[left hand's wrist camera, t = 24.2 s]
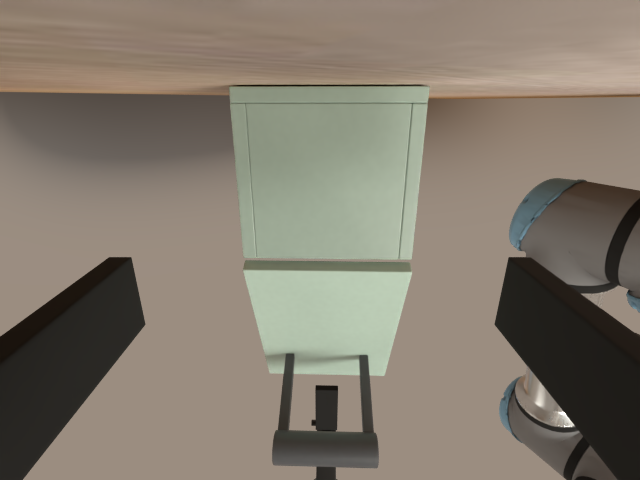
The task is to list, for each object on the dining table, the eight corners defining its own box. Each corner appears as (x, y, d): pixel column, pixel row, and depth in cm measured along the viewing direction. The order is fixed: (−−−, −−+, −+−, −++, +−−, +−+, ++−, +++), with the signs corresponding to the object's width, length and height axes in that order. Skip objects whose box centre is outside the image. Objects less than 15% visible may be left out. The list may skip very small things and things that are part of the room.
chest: (389, 92, 30) (382, 202, 33) (270, 93, 30) (275, 201, 34) (430, 85, 18) (412, 260, 21) (228, 86, 18) (243, 258, 21)
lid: (383, 366, 31) (395, 480, 25) (270, 364, 32) (255, 476, 26) (410, 262, 21) (440, 408, 15) (245, 259, 22) (211, 402, 16)
